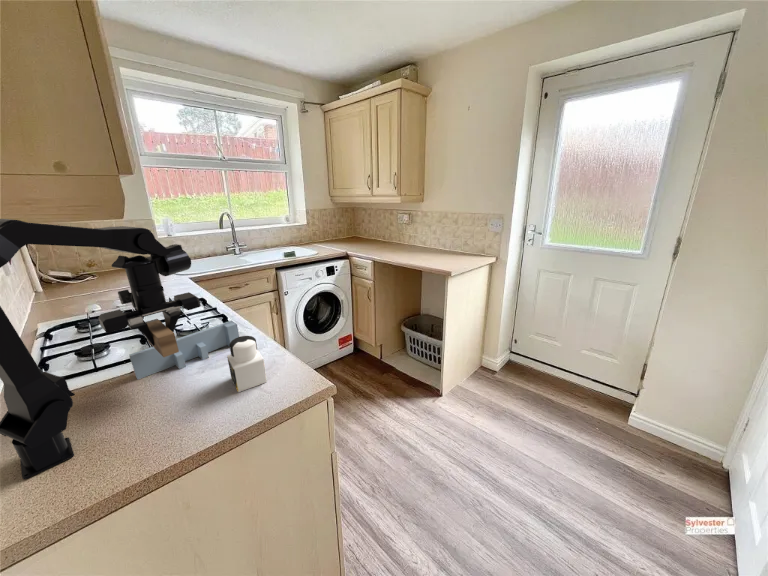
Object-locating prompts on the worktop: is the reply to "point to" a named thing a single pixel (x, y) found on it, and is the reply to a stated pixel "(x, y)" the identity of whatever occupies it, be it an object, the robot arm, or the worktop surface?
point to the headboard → (184, 349)
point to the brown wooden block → (162, 338)
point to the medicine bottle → (246, 363)
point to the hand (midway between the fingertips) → (161, 342)
